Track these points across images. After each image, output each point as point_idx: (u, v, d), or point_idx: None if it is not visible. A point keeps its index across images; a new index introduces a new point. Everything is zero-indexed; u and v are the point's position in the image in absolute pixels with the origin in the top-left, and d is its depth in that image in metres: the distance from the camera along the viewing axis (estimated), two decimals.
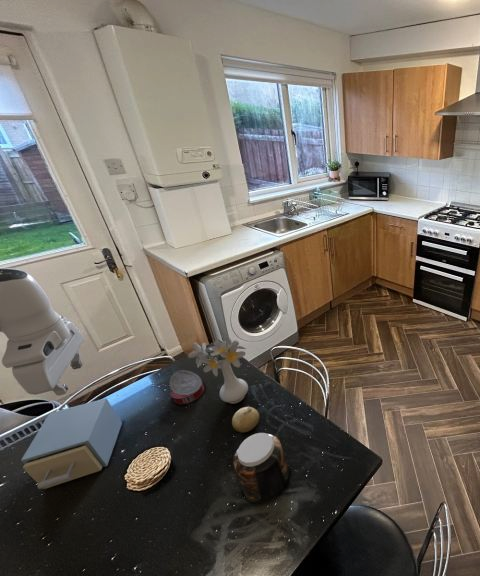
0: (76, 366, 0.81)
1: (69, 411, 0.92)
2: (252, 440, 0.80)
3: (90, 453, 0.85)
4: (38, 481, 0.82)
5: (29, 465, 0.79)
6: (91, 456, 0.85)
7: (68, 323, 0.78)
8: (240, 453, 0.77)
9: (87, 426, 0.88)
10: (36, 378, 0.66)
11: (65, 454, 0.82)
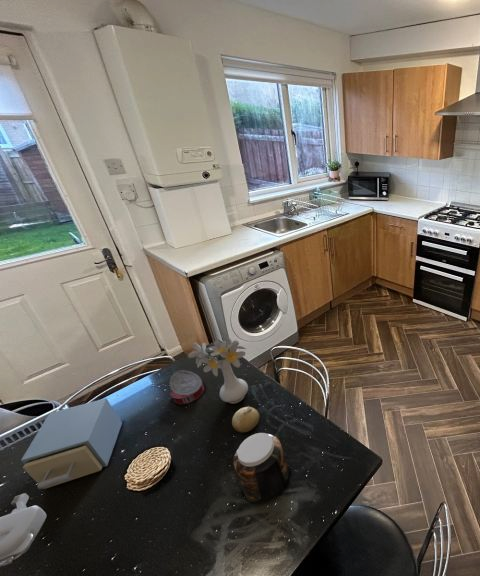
0: None
1: (69, 411, 0.92)
2: (252, 440, 0.80)
3: (90, 453, 0.85)
4: (38, 481, 0.82)
5: (29, 465, 0.79)
6: (91, 456, 0.85)
7: None
8: (240, 453, 0.77)
9: (87, 426, 0.88)
10: None
11: (65, 454, 0.82)
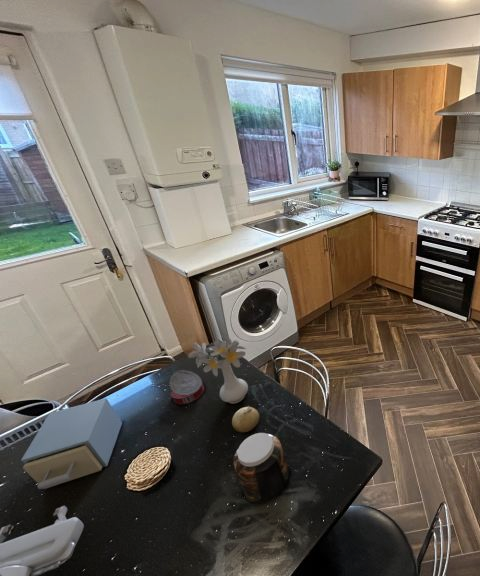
0: None
1: (69, 411, 0.92)
2: (252, 440, 0.80)
3: (90, 453, 0.85)
4: (38, 481, 0.82)
5: (29, 465, 0.79)
6: (91, 456, 0.85)
7: None
8: (240, 453, 0.77)
9: (87, 426, 0.88)
10: None
11: (65, 454, 0.82)
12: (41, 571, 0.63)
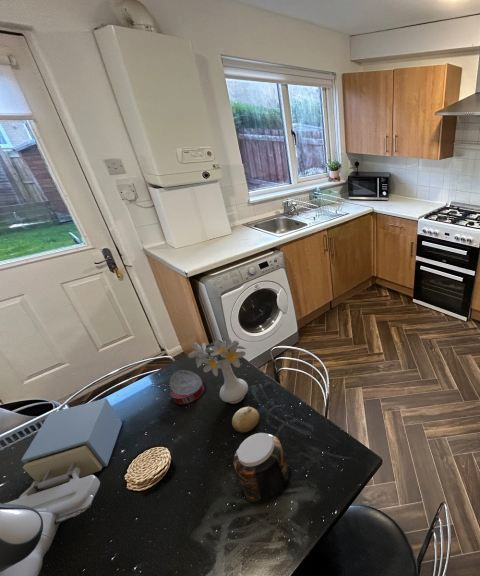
0: None
1: (69, 411, 0.92)
2: (252, 440, 0.80)
3: (90, 453, 0.85)
4: None
5: (29, 465, 0.79)
6: (91, 456, 0.85)
7: None
8: (240, 453, 0.77)
9: (87, 426, 0.88)
10: None
11: (65, 454, 0.82)
12: (64, 517, 0.72)
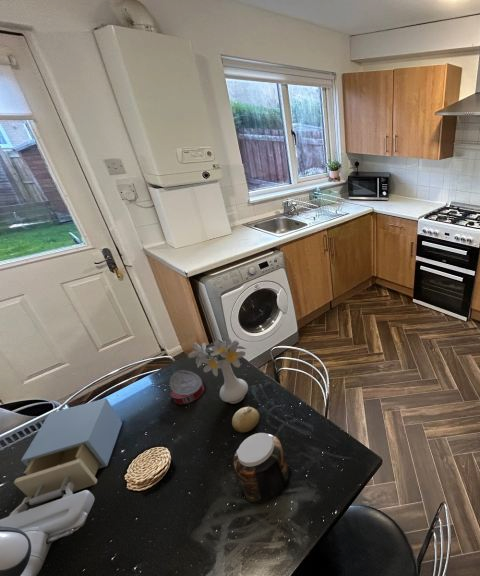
0: None
1: (69, 411, 0.92)
2: (252, 440, 0.80)
3: (84, 467, 0.82)
4: None
5: (20, 480, 0.76)
6: (85, 470, 0.82)
7: None
8: (240, 453, 0.77)
9: (87, 426, 0.88)
10: None
11: (58, 468, 0.78)
12: (57, 537, 0.68)
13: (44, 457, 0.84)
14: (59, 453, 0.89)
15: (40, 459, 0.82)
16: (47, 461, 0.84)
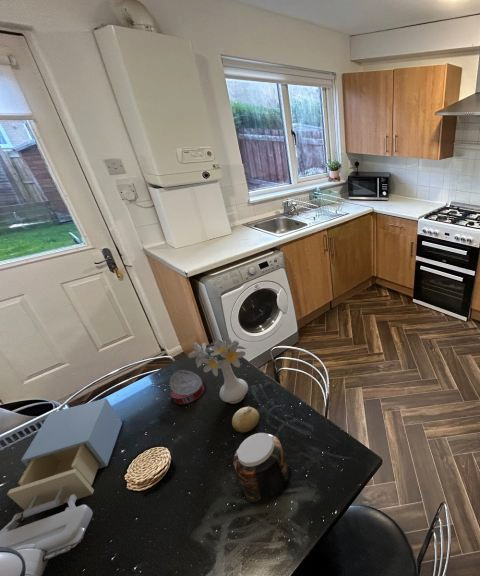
0: None
1: (69, 411, 0.92)
2: (252, 440, 0.80)
3: (80, 477, 0.79)
4: (24, 508, 0.76)
5: (14, 491, 0.74)
6: (81, 480, 0.79)
7: None
8: (240, 453, 0.77)
9: (87, 426, 0.88)
10: None
11: (53, 479, 0.76)
12: (53, 554, 0.67)
13: (39, 466, 0.81)
14: (55, 462, 0.87)
15: (35, 469, 0.80)
16: (42, 471, 0.82)
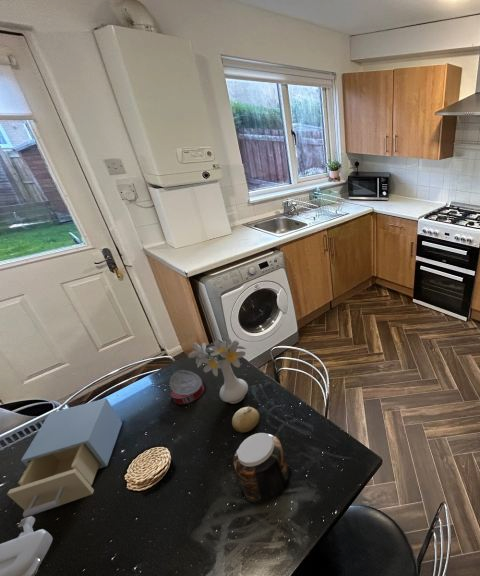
0: None
1: (69, 411, 0.92)
2: (252, 440, 0.80)
3: (80, 477, 0.79)
4: (24, 508, 0.76)
5: (14, 491, 0.74)
6: (81, 480, 0.79)
7: None
8: (240, 453, 0.77)
9: (87, 426, 0.88)
10: None
11: (53, 479, 0.76)
12: None
13: (39, 466, 0.81)
14: (55, 462, 0.87)
15: (35, 469, 0.80)
16: (42, 471, 0.82)
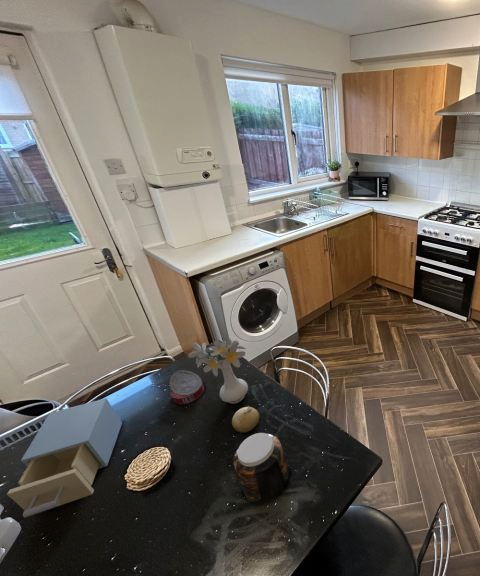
0: None
1: (69, 411, 0.92)
2: (252, 440, 0.80)
3: (80, 477, 0.79)
4: (24, 508, 0.76)
5: (14, 491, 0.74)
6: (81, 480, 0.79)
7: None
8: (240, 453, 0.77)
9: (87, 426, 0.88)
10: None
11: (53, 479, 0.76)
12: None
13: (39, 466, 0.81)
14: (55, 462, 0.87)
15: (35, 469, 0.80)
16: (42, 471, 0.82)
